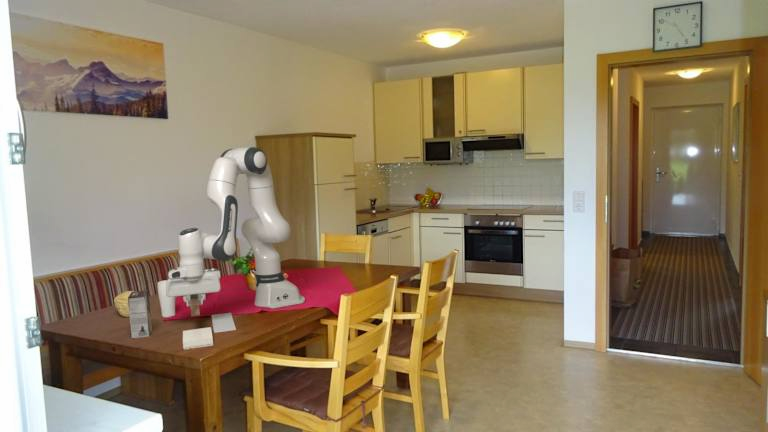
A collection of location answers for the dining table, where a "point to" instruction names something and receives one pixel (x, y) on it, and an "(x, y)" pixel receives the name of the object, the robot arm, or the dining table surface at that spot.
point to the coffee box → (140, 314)
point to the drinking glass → (165, 300)
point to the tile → (197, 338)
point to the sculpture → (123, 303)
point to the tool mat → (223, 322)
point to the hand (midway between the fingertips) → (194, 305)
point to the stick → (194, 305)
